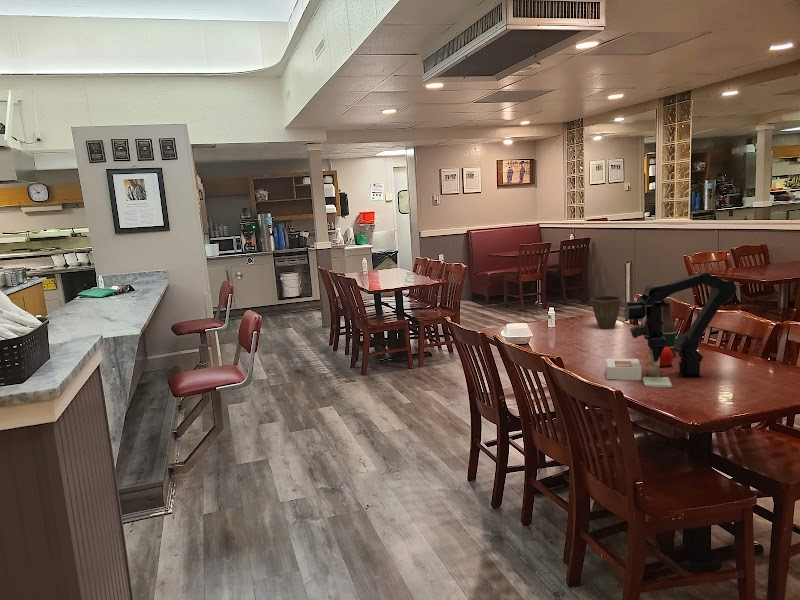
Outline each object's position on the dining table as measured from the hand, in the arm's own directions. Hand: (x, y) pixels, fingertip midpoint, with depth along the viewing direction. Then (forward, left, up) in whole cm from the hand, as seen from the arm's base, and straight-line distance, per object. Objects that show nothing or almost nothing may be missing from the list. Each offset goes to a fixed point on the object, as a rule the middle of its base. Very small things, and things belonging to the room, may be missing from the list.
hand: (654, 358), depth 216 cm
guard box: (+11, 0, -7) cm, 13 cm away
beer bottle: (-8, -30, -7) cm, 32 cm away
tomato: (-4, -16, -7) cm, 18 cm away
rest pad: (0, +9, -7) cm, 11 cm away
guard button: (+11, 0, -5) cm, 12 cm away
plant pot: (+14, -86, -7) cm, 87 cm away
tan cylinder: (0, 0, -7) cm, 7 cm away
